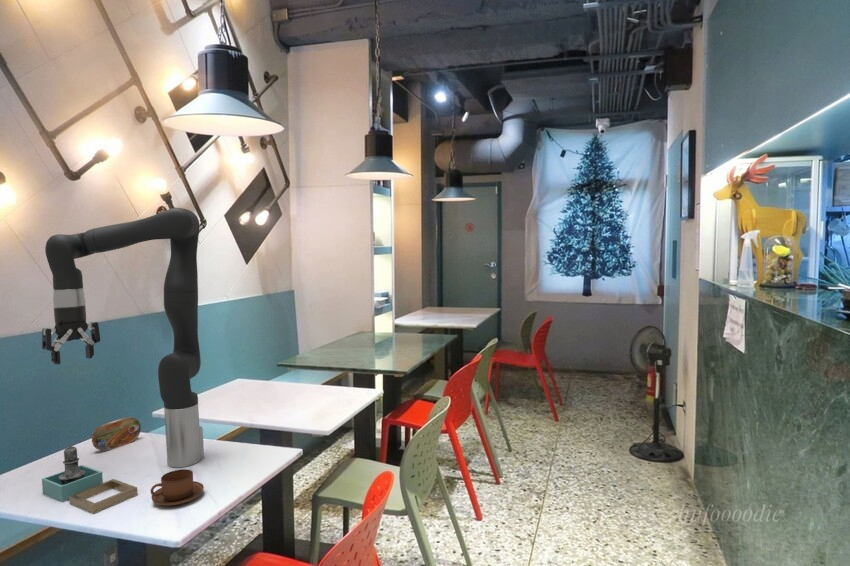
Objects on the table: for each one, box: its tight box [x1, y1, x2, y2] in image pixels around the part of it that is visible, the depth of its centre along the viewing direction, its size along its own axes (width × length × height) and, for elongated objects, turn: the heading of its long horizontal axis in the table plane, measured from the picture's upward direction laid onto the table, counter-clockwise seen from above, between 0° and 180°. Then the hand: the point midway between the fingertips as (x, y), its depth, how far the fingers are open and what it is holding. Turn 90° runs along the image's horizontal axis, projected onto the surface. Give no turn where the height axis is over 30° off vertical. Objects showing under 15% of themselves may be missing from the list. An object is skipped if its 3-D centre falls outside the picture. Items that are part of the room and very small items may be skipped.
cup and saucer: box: [150, 468, 205, 507], centre depth 134 cm, size 12×12×6 cm
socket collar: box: [68, 478, 139, 515], centre depth 135 cm, size 11×11×2 cm
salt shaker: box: [59, 443, 85, 485], centre depth 140 cm, size 6×6×12 cm
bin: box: [41, 464, 104, 503], centre depth 140 cm, size 10×10×4 cm
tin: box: [91, 416, 142, 452], centre depth 172 cm, size 15×3×8 cm, turn 152°
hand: (73, 361), depth 151 cm, fingers open, 8 cm apart
